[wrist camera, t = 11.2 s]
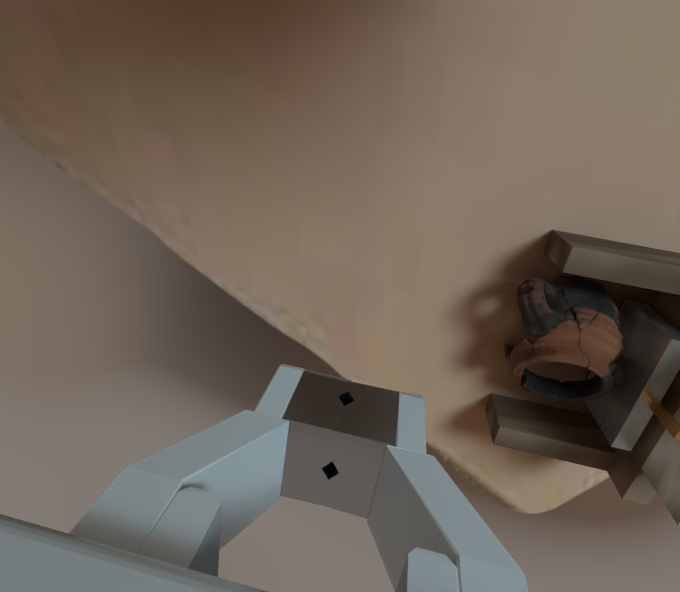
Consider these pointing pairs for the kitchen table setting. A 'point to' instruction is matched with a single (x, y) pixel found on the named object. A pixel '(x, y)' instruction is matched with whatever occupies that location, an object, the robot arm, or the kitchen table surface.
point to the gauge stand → (582, 430)
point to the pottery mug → (567, 337)
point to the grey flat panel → (639, 377)
